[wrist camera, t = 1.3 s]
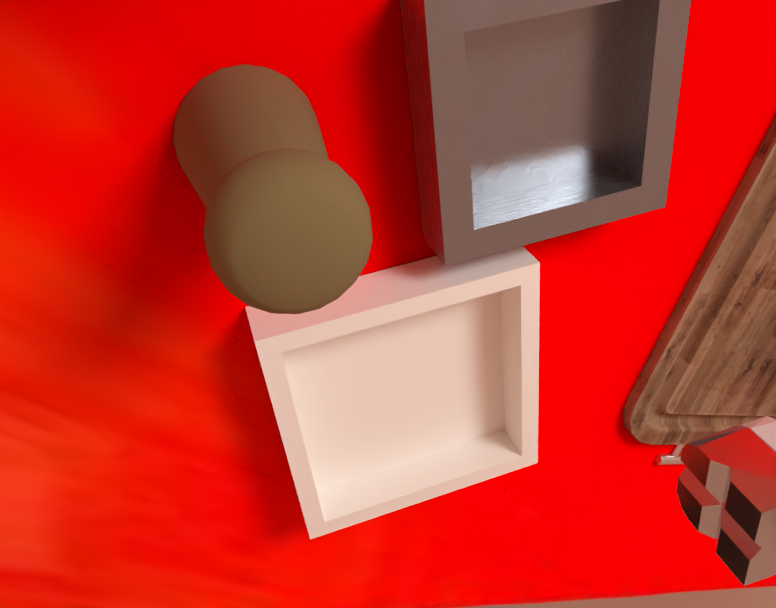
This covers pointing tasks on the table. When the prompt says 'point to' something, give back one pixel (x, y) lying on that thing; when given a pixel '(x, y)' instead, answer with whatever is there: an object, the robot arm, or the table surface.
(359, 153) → the table surface
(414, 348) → the tray
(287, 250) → the cork
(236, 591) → the table surface
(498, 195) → the grey square shallow box
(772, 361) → the chopping board
